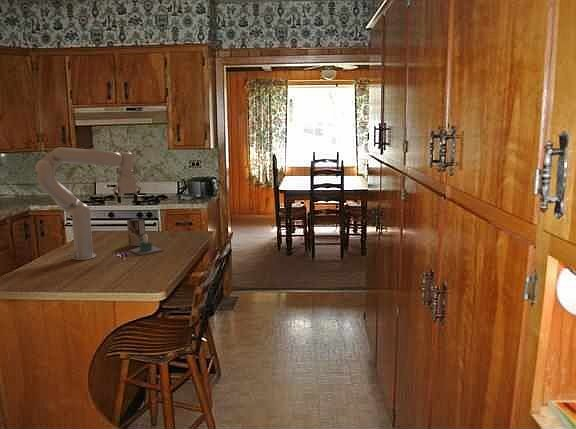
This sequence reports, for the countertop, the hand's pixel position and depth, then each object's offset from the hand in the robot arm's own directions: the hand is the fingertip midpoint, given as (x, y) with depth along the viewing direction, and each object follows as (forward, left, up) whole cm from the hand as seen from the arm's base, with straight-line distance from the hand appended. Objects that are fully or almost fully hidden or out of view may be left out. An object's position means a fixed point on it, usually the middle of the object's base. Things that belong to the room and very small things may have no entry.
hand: (127, 202), depth 291 cm
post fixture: (+6, -9, -29) cm, 31 cm away
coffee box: (+10, +11, -29) cm, 33 cm away
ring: (+6, -9, -28) cm, 30 cm away
